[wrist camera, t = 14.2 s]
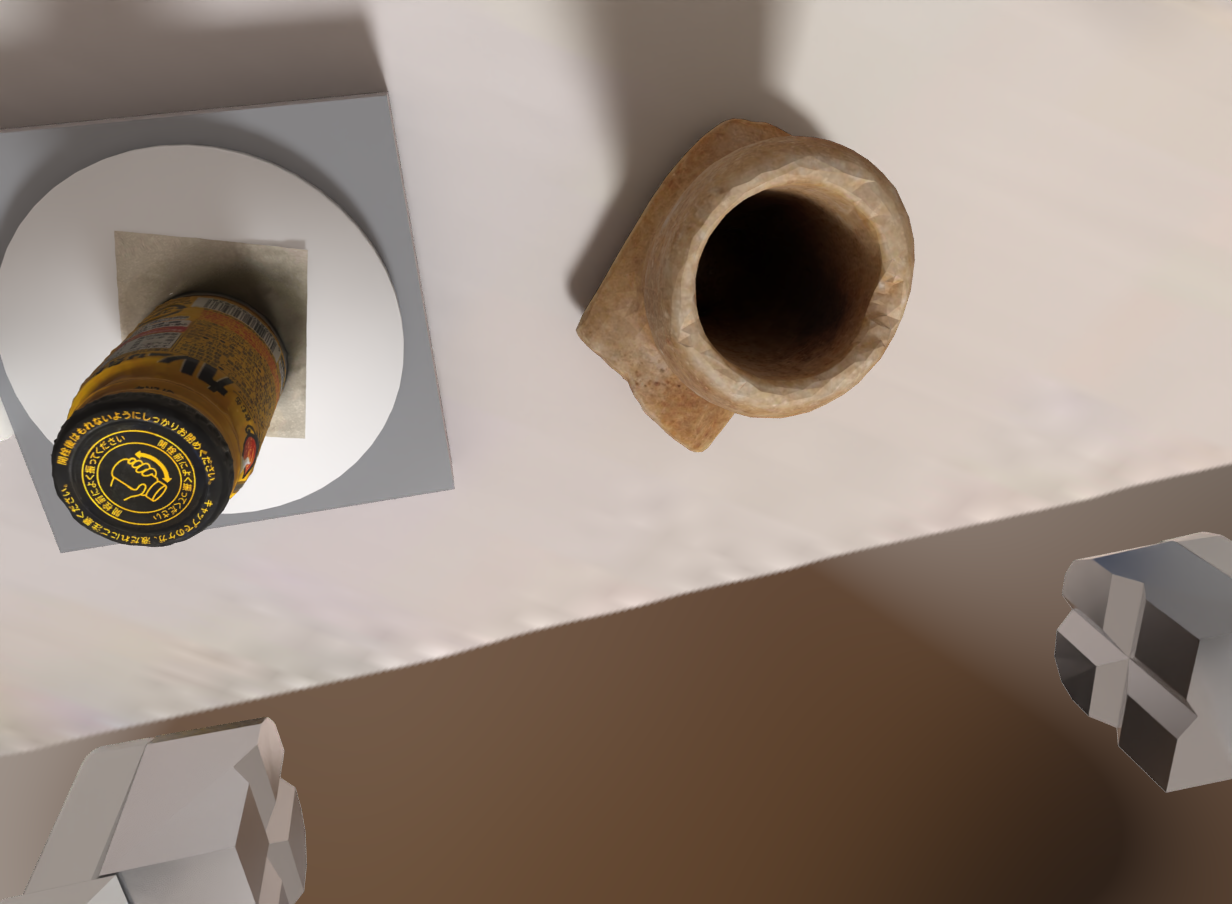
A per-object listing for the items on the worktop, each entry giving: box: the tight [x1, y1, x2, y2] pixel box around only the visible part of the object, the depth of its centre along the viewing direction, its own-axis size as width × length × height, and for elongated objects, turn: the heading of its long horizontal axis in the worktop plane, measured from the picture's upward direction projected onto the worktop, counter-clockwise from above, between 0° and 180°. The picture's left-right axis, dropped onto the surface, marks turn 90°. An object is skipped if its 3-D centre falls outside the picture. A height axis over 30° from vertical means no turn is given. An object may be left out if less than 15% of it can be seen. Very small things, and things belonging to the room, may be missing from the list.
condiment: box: [51, 231, 308, 547], centre depth 34 cm, size 7×8×12 cm
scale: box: [0, 92, 455, 553], centre depth 40 cm, size 18×19×6 cm
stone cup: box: [576, 118, 915, 452], centre depth 40 cm, size 15×12×15 cm
